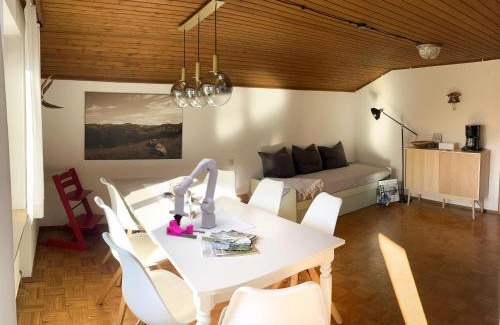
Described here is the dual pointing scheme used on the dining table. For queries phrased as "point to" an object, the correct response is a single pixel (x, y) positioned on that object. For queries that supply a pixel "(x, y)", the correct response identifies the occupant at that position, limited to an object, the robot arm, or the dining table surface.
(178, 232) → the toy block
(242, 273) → the dining table surface
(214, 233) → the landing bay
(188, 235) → the channel
